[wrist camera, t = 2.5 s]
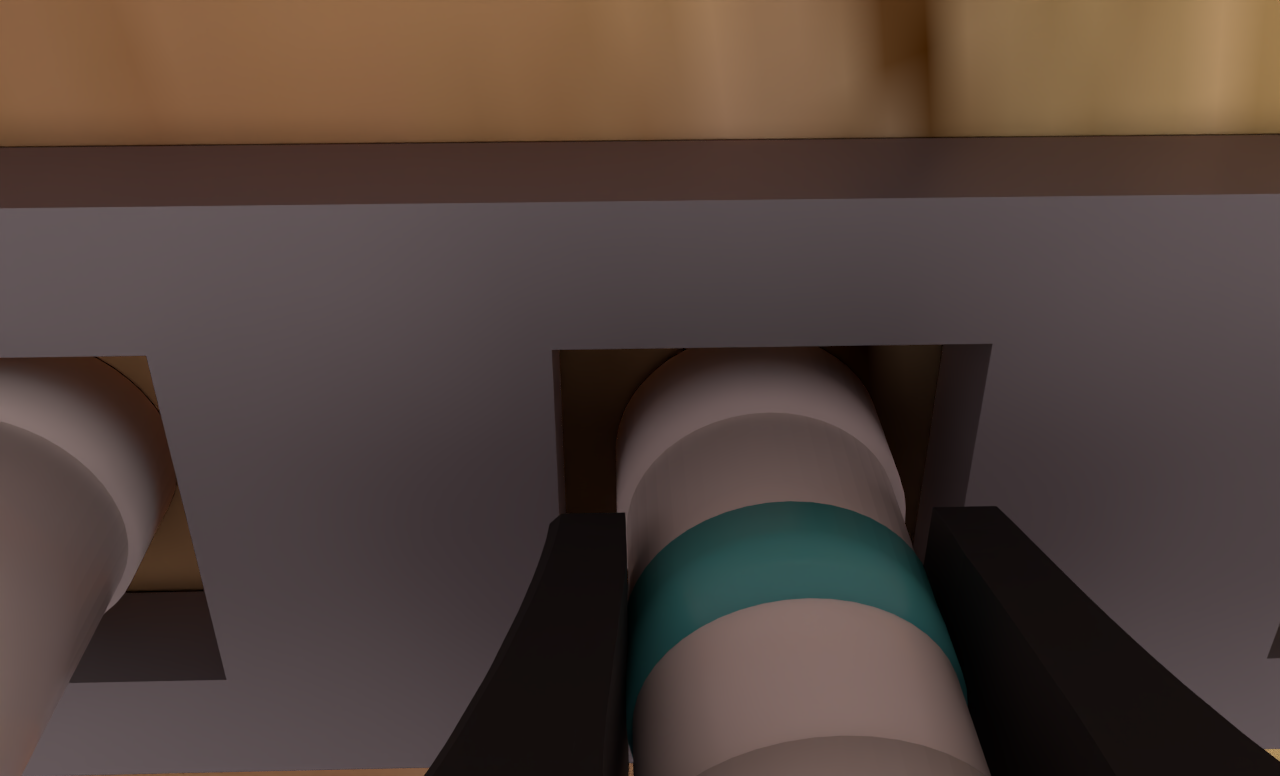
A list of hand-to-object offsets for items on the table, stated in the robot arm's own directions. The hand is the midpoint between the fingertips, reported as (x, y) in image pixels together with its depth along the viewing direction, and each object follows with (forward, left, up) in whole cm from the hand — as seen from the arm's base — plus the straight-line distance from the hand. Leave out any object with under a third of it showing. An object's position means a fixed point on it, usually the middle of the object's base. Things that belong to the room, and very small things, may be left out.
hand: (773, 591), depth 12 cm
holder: (0, 0, -3) cm, 3 cm away
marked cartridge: (0, 0, -2) cm, 2 cm away
